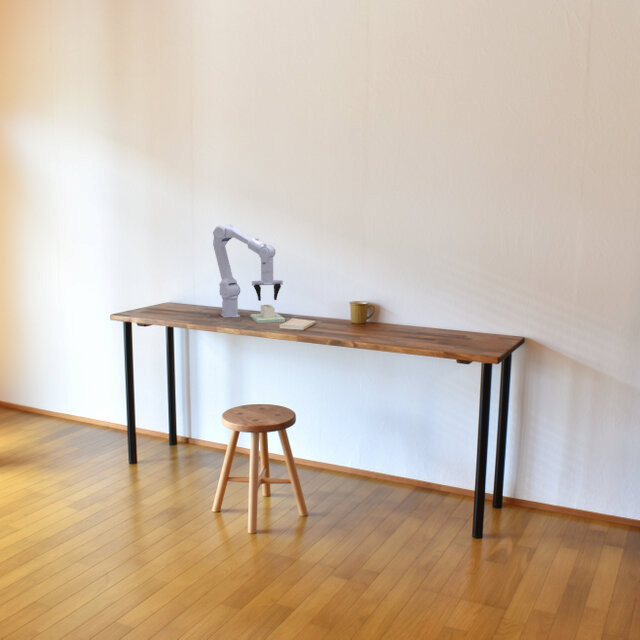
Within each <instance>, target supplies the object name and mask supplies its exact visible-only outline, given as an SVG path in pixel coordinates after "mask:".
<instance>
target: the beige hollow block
mask: <svg viewBox="0 0 640 640" xmlns="http://www.w3.org/2000/svg"><path fill="white" fill-rule="evenodd" d="M275 313H276V312H275V307H274V306H273V305H271V304H260V314H261V316H262V317H264V318H275Z"/></svg>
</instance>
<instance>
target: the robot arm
mask: <svg viewBox="0 0 640 640" xmlns="http://www.w3.org/2000/svg"><path fill="white" fill-rule="evenodd" d="M212 235H213V243H212V246H213V251H214V254H215V258H216V262H217V266H218V270H219V274H220V278H221V279H220V280H221V281H220V283H219V295H220V296H221V299H222V303H221V305H222V307H221V308H222V310H221V311H222V313H220V315H221V317H223V318H224V319H226V318H227V319H228V318H240V317H241V315H240V314H239V308H238V307H239V306H238V305H239V301H238V298H239V295H240V294H241V287H240V285H239V284H238V281H237V279H235V278H234V277H233V276H234V275H233V272H232V268H231V265H230V260H229V256H228V252H227V248H226V245H227V244H228V243H229V242H230V241H231V240H232V239H233V238H234V239H235V240H238V241H239V242H242V243H244V244H245V245H247V248H248V250H250V251H252V252H254V253H256V254H257V255H258V256H259V258H260V272H261V273H260V278H261V279H260V280H254V281H253V280H252V281H251V286H253V288H254V290H255V293H256V296H257V301H259V302H260V301H261V300H262V299H261V298H262V296H261V289H262V287H261V286H273V300H274V301H277V300H278V296H279V295H278V294H279V292H280V290H281V288H282V285H283V280H281V279H280V280H279V279H278V280H277V279H276V280H275V279H274V257H275V255H276V249H275V247H274V246H273V245H267V243H266V242H262V241H260V238H258V237H252V238H251V237H250V236H248V235H246V234H245V233H243V231H241V230H239V229H238V228H237V227H235V226H233V225H231V224H228V225H218V226H216V227H215V228H214V230H213V231H212Z"/></svg>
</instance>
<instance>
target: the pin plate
mask: <svg viewBox="0 0 640 640" xmlns="http://www.w3.org/2000/svg"><path fill="white" fill-rule="evenodd" d="M250 319H252V320H253V321H255V322H256V323H257V324H270V323H271V324H272V323H285V322H286V318H285V317H283V316H282V315H280V314H279V313H278V312H275V318H264V317H262V316H261V313H251V314H250Z"/></svg>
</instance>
